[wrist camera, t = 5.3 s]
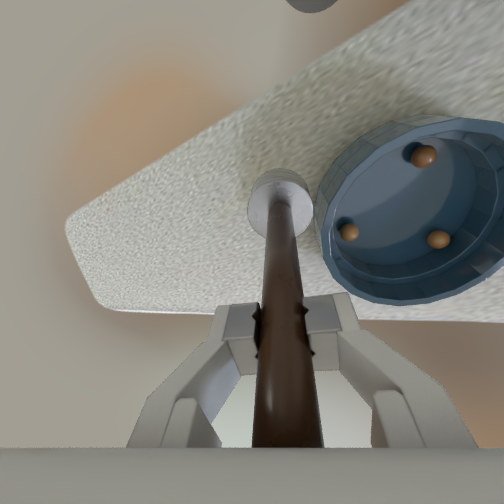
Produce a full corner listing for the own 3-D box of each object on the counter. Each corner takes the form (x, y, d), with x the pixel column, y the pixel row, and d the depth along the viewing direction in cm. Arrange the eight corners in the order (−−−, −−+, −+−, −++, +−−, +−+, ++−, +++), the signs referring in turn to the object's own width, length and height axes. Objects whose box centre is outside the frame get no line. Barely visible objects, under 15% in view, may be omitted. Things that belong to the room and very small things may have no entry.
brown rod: (245, 174, 19) (94, 563, 3) (305, 162, 18) (495, 603, 2) (257, 227, 21) (203, 607, 5) (311, 218, 20) (430, 636, 5)
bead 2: (407, 145, 24) (418, 149, 22) (431, 141, 23) (443, 144, 22) (405, 167, 25) (415, 172, 23) (428, 163, 24) (439, 167, 23)
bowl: (305, 138, 25) (313, 148, 19) (514, 92, 21) (588, 90, 16) (319, 280, 33) (328, 313, 28) (470, 262, 30) (509, 295, 25)
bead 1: (337, 221, 28) (341, 229, 26) (356, 218, 28) (361, 226, 26) (338, 237, 29) (342, 246, 27) (356, 234, 29) (361, 243, 27)
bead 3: (424, 228, 28) (434, 237, 26) (444, 225, 27) (456, 234, 26) (422, 244, 29) (431, 253, 27) (441, 241, 28) (452, 250, 27)
